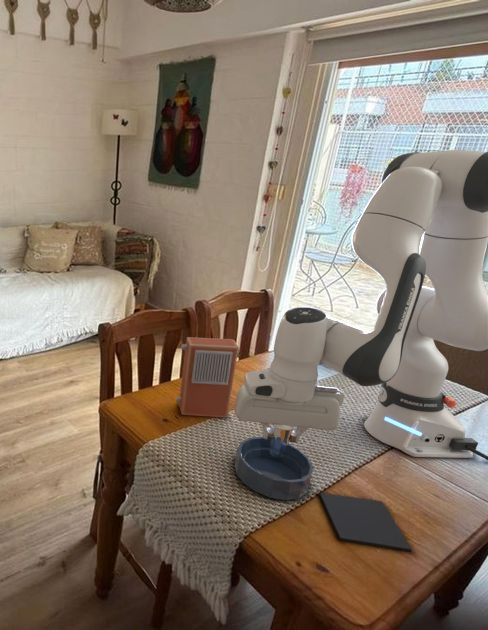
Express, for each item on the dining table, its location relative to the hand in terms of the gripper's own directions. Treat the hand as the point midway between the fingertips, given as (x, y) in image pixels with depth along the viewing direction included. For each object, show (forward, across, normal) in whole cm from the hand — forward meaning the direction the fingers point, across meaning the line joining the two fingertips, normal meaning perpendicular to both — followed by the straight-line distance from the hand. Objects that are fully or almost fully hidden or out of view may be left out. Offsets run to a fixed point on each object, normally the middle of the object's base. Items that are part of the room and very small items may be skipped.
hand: (279, 439), depth 96 cm
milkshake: (+4, 0, 0) cm, 4 cm away
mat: (+10, -14, +10) cm, 20 cm away
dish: (+10, 0, 0) cm, 10 cm away
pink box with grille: (+10, +14, -24) cm, 29 cm away
